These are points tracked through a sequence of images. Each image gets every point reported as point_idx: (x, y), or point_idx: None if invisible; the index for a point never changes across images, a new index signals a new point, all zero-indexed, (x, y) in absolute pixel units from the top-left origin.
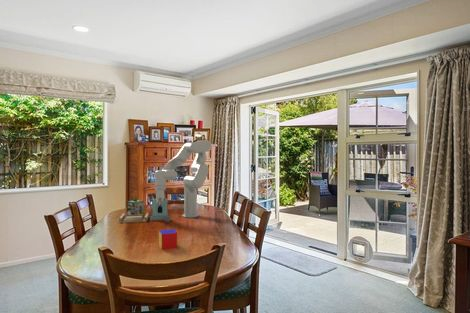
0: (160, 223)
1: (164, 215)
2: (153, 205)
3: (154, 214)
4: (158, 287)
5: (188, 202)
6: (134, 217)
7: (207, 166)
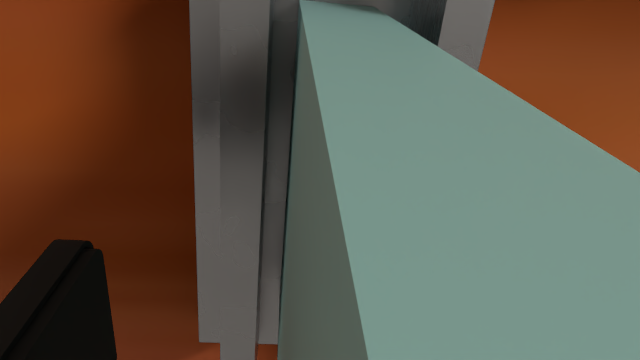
0: (100, 167)
1: (280, 324)
2: (325, 248)
3: (297, 88)
4: None
5: None
6: None
7: None
